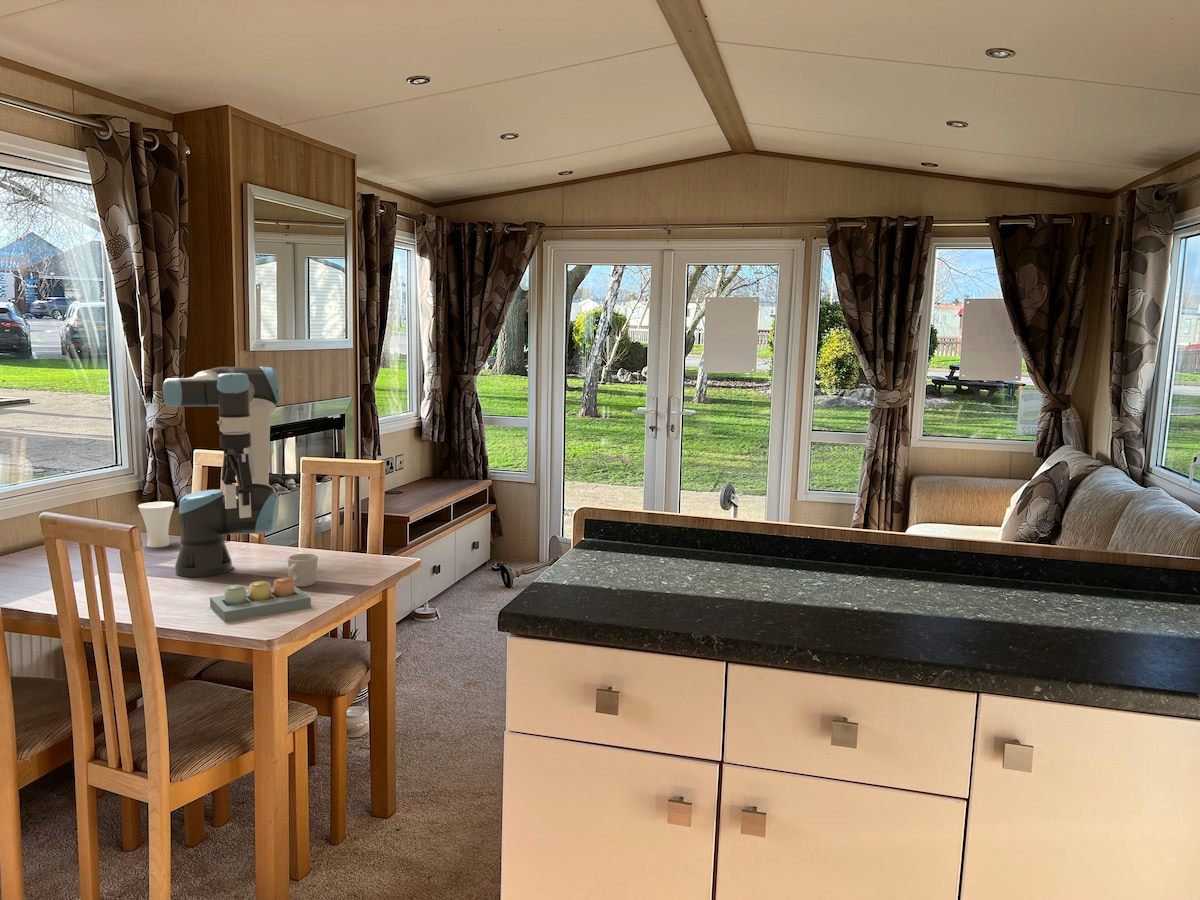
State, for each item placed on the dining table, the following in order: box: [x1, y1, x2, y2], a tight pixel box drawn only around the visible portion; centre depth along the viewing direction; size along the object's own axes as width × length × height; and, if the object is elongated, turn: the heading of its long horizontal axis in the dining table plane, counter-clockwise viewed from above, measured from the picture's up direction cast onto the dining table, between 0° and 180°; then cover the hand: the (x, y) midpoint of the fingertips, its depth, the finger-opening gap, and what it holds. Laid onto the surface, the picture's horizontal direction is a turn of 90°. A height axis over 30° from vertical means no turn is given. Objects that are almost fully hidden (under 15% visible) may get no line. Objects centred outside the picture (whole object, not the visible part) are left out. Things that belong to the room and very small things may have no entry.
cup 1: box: [138, 501, 175, 548], centre depth 283 cm, size 10×10×14 cm
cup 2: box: [287, 553, 319, 588], centre depth 242 cm, size 11×8×8 cm
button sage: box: [224, 584, 247, 606], centre depth 219 cm, size 5×5×4 cm
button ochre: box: [249, 580, 272, 602], centre depth 223 cm, size 5×5×4 cm
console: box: [209, 586, 312, 623], centre depth 223 cm, size 14×21×3 cm, turn 127°
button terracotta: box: [273, 577, 294, 598], centre depth 226 cm, size 5×5×4 cm
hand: (238, 512), depth 231 cm, fingers open, 12 cm apart
